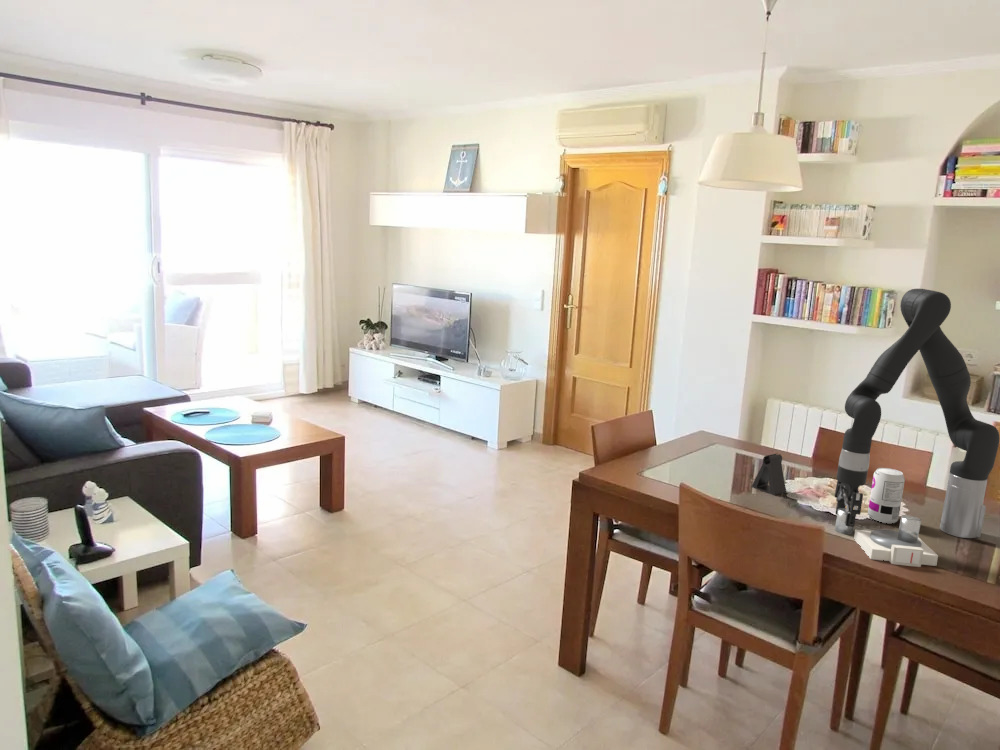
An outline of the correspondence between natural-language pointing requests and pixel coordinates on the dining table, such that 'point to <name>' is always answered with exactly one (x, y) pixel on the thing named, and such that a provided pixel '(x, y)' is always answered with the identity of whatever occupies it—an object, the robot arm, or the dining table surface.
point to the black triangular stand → (770, 475)
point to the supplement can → (886, 495)
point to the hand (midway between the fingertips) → (844, 520)
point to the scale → (894, 548)
